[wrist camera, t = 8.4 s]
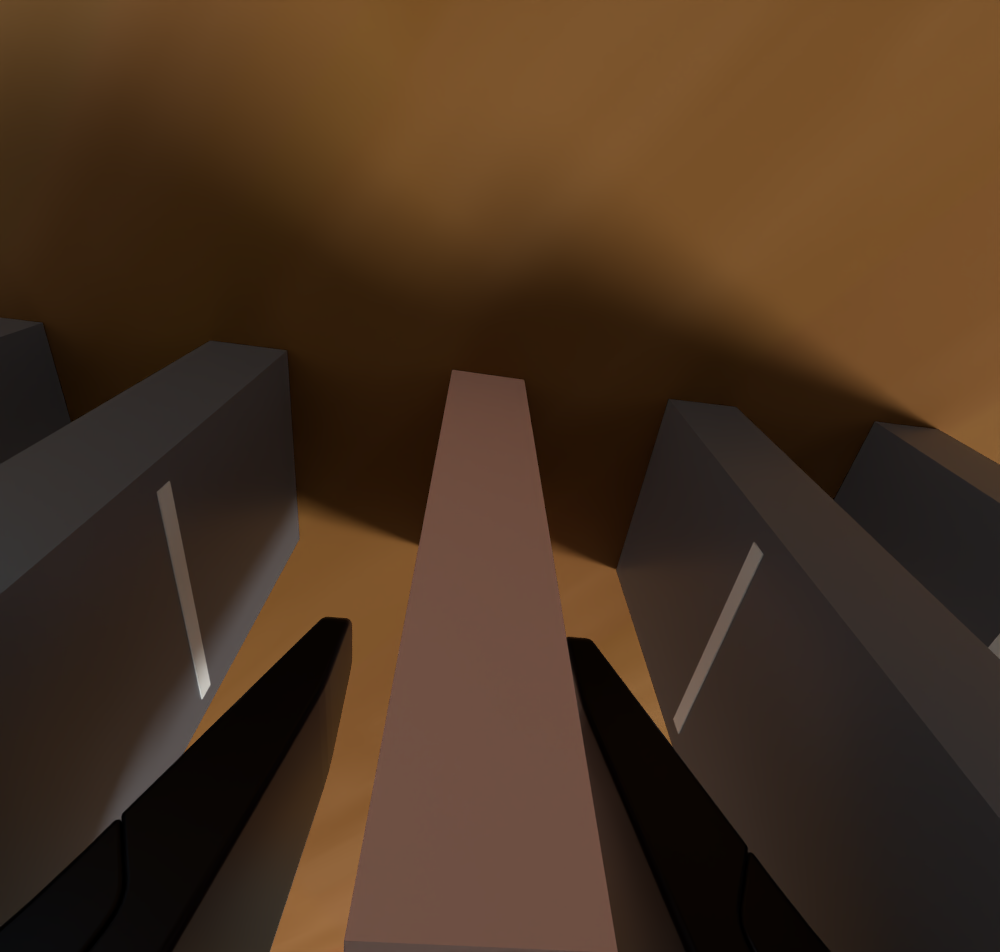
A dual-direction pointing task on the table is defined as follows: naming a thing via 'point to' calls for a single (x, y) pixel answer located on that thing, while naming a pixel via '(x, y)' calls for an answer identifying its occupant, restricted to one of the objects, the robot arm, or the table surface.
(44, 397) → the domino
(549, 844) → the domino
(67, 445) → the domino
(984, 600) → the domino
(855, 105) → the table surface
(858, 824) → the domino
